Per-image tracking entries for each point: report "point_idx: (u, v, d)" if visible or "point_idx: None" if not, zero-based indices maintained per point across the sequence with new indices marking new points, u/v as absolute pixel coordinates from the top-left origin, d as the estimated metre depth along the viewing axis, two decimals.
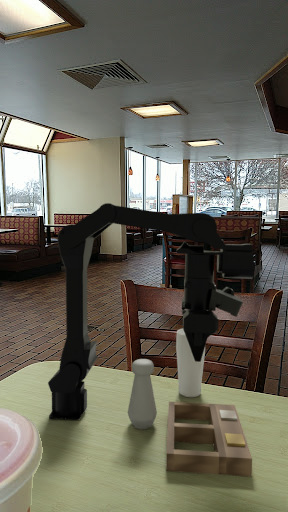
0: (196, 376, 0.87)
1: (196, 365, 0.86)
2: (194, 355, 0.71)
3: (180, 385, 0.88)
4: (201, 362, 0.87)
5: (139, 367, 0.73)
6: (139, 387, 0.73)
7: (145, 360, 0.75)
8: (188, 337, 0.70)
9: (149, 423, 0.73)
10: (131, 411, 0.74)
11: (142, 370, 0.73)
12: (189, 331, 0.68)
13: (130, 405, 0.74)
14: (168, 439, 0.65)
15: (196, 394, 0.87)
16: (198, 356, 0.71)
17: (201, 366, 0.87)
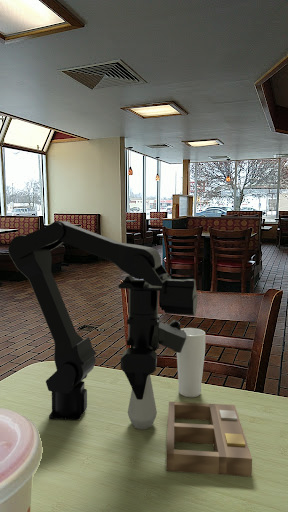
0: (196, 376, 0.87)
1: (196, 365, 0.86)
2: (135, 393, 0.70)
3: (180, 385, 0.88)
4: (201, 362, 0.87)
5: None
6: None
7: None
8: (128, 376, 0.68)
9: (149, 423, 0.73)
10: (131, 411, 0.74)
11: None
12: (127, 371, 0.67)
13: (130, 405, 0.74)
14: (168, 439, 0.65)
15: (196, 394, 0.87)
16: (139, 394, 0.70)
17: (201, 366, 0.87)
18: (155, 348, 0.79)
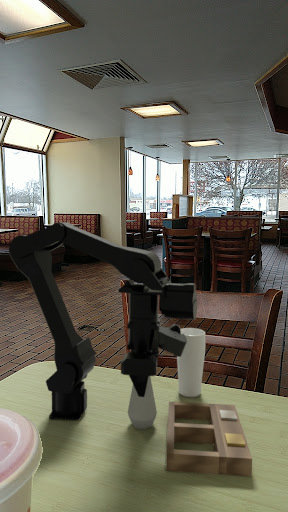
0: (196, 376, 0.87)
1: (196, 365, 0.86)
2: (137, 391, 0.73)
3: (180, 385, 0.88)
4: (201, 362, 0.87)
5: None
6: None
7: None
8: (130, 374, 0.71)
9: (149, 423, 0.73)
10: (131, 411, 0.74)
11: None
12: None
13: (130, 405, 0.74)
14: (168, 439, 0.65)
15: (196, 394, 0.87)
16: (141, 392, 0.73)
17: (201, 366, 0.87)
18: None
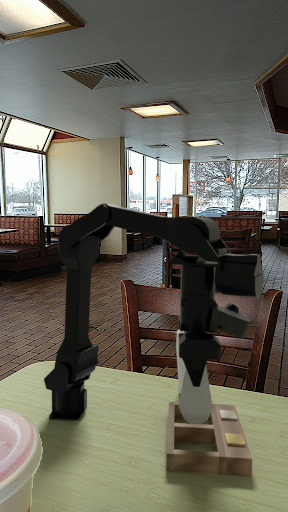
0: None
1: None
2: (192, 380, 0.62)
3: (180, 385, 0.88)
4: None
5: None
6: None
7: None
8: (185, 360, 0.61)
9: (205, 417, 0.63)
10: (184, 403, 0.63)
11: None
12: None
13: (182, 396, 0.64)
14: (168, 439, 0.65)
15: None
16: (197, 381, 0.62)
17: None
18: None
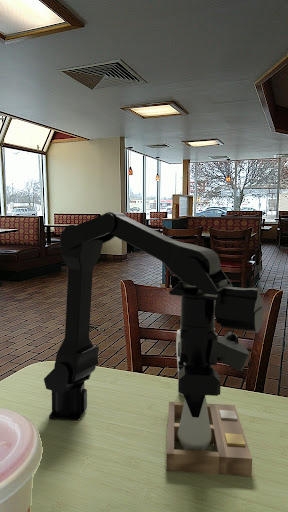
0: None
1: None
2: (191, 410, 0.62)
3: None
4: None
5: None
6: None
7: None
8: None
9: (204, 447, 0.64)
10: (183, 433, 0.64)
11: None
12: None
13: (181, 426, 0.64)
14: (168, 439, 0.65)
15: None
16: (196, 412, 0.63)
17: None
18: None
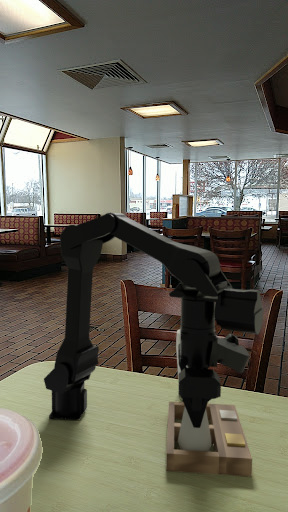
0: None
1: None
2: (192, 421, 0.60)
3: None
4: None
5: None
6: None
7: None
8: (185, 401, 0.59)
9: None
10: (183, 440, 0.64)
11: None
12: (186, 396, 0.57)
13: (181, 433, 0.65)
14: (168, 439, 0.65)
15: None
16: (197, 422, 0.60)
17: None
18: (207, 366, 0.69)
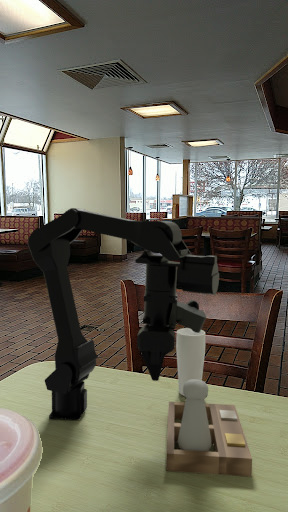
0: (196, 376, 0.87)
1: (196, 365, 0.86)
2: (151, 374, 0.66)
3: (180, 385, 0.88)
4: (201, 362, 0.87)
5: (192, 390, 0.63)
6: (192, 412, 0.63)
7: (198, 381, 0.65)
8: (144, 355, 0.65)
9: None
10: (183, 440, 0.64)
11: (197, 393, 0.63)
12: (144, 349, 0.63)
13: (181, 433, 0.65)
14: (168, 439, 0.65)
15: None
16: (155, 375, 0.66)
17: (201, 366, 0.87)
18: (171, 329, 0.75)
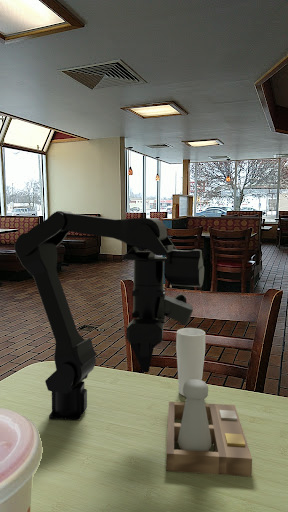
0: (196, 376, 0.87)
1: (196, 365, 0.86)
2: (141, 366, 0.68)
3: (180, 385, 0.88)
4: (201, 362, 0.87)
5: (192, 390, 0.63)
6: (192, 412, 0.63)
7: (198, 381, 0.65)
8: (134, 347, 0.67)
9: None
10: (183, 440, 0.64)
11: (197, 393, 0.63)
12: (133, 341, 0.65)
13: (181, 433, 0.65)
14: (168, 439, 0.65)
15: None
16: (145, 367, 0.68)
17: (201, 366, 0.87)
18: (160, 323, 0.78)
